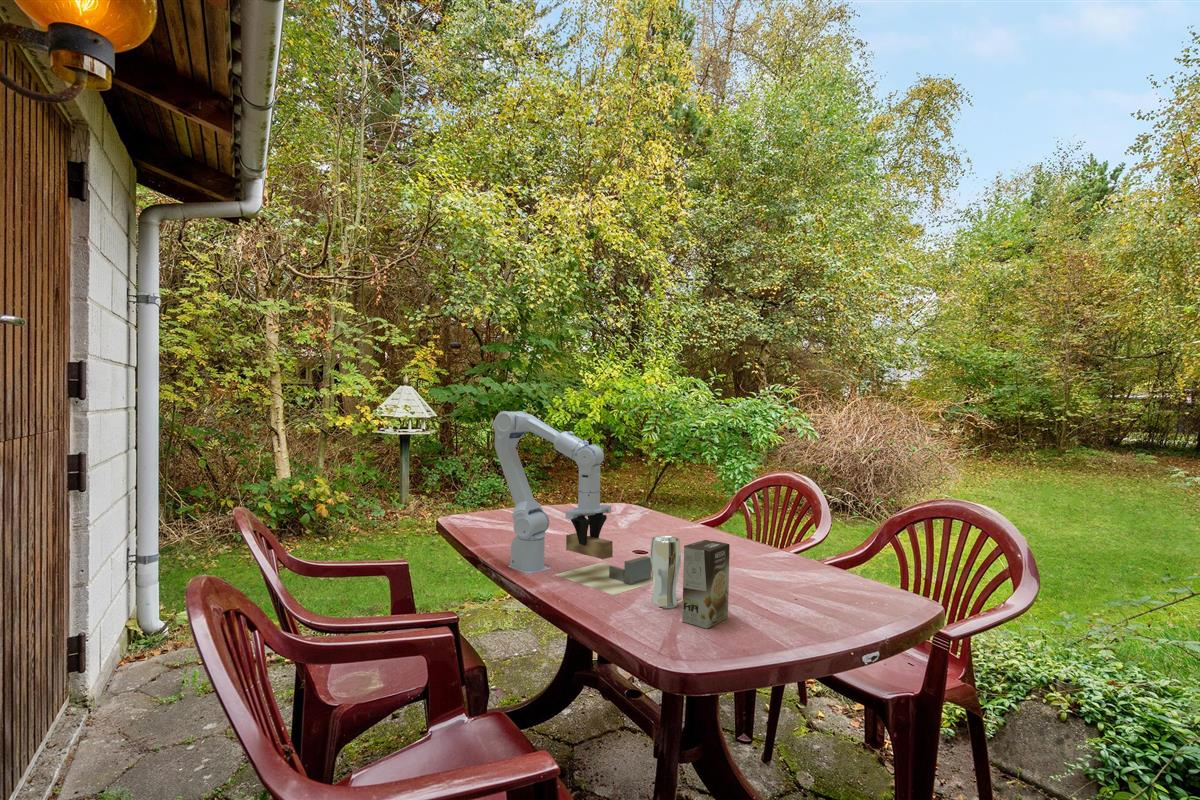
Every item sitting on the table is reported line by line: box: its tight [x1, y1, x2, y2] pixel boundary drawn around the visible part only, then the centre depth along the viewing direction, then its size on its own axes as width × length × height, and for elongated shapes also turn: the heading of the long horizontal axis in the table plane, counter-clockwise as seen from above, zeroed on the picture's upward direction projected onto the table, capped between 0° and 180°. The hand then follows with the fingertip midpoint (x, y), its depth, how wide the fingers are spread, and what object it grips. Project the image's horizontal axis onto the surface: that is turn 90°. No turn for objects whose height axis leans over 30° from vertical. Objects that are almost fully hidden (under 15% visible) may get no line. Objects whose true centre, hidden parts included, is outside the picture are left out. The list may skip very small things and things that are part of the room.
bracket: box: [609, 555, 652, 585], centre depth 151 cm, size 8×8×6 cm
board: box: [553, 562, 653, 596], centre depth 152 cm, size 22×18×1 cm
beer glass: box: [649, 535, 682, 610], centre depth 134 cm, size 7×7×15 cm
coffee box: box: [681, 539, 731, 629], centre depth 124 cm, size 9×6×16 cm
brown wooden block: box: [565, 532, 614, 560], centre depth 152 cm, size 14×4×4 cm, turn 44°
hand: (588, 543), depth 152 cm, fingers closed on brown wooden block, 3 cm apart
